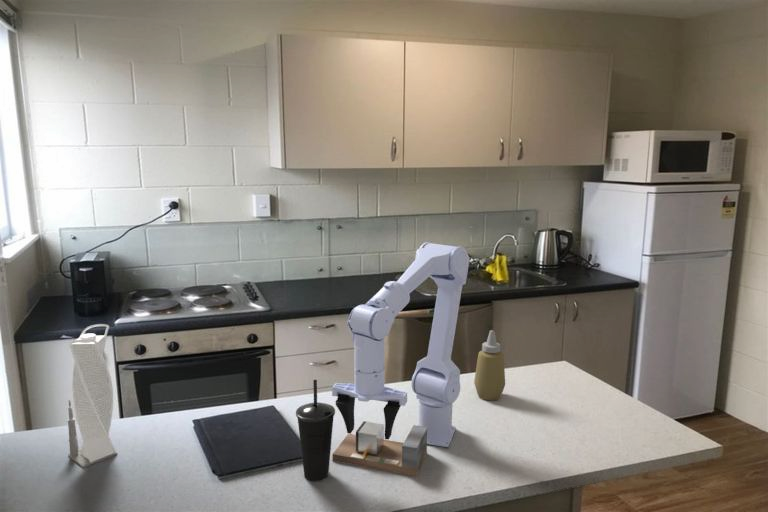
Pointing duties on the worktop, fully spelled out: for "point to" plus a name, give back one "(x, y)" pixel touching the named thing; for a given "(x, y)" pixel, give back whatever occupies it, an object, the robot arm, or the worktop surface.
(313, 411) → the drinking cup
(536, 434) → the worktop surface
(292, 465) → the worktop surface
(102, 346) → the skyscraper
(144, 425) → the worktop surface
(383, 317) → the robot arm
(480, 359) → the squeeze bottle
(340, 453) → the gauge board
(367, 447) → the gauge carriage
